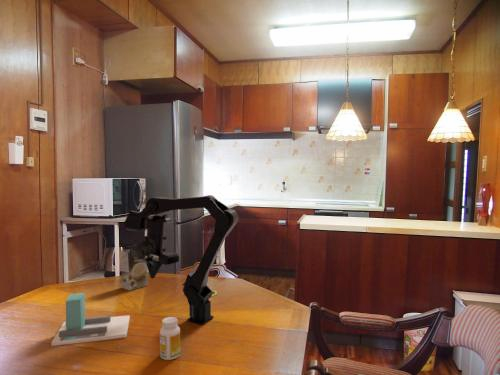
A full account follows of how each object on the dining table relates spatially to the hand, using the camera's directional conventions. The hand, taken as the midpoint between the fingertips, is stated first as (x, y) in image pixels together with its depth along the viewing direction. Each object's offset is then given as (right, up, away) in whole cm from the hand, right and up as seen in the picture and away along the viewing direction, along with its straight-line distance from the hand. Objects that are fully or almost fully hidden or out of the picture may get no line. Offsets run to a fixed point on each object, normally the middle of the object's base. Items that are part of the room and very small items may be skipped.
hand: (152, 278), depth 118 cm
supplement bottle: (+12, -14, -26) cm, 32 cm away
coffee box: (-16, -12, +30) cm, 36 cm away
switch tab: (-20, -12, -13) cm, 27 cm away
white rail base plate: (-15, -13, -12) cm, 23 cm away
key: (+16, -13, +23) cm, 31 cm away
